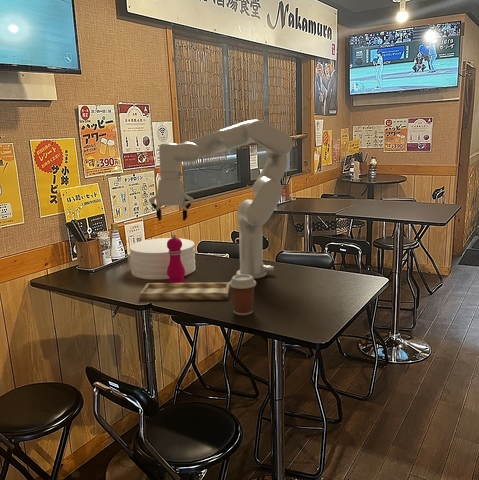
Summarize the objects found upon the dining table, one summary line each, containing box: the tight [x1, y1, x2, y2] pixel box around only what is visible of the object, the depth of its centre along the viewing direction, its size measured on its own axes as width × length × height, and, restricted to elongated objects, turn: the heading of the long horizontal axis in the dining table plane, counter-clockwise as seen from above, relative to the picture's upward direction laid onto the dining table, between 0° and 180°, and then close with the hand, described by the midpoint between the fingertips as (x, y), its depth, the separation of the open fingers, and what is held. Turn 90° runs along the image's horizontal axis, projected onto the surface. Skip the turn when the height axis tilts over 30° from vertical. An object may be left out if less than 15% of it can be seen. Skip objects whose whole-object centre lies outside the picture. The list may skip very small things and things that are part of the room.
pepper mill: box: [167, 233, 185, 283], centre depth 191 cm, size 7×7×20 cm
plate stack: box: [129, 237, 196, 280], centre depth 211 cm, size 28×28×12 cm
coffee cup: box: [229, 274, 257, 316], centre depth 159 cm, size 9×9×12 cm
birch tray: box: [138, 281, 231, 301], centre depth 179 cm, size 32×12×2 cm, turn 88°
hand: (172, 220), depth 187 cm, fingers open, 9 cm apart
